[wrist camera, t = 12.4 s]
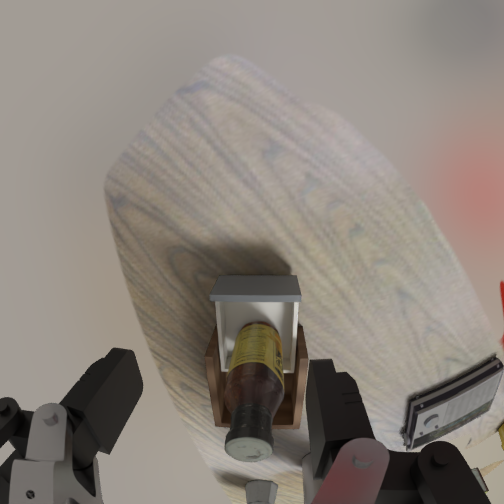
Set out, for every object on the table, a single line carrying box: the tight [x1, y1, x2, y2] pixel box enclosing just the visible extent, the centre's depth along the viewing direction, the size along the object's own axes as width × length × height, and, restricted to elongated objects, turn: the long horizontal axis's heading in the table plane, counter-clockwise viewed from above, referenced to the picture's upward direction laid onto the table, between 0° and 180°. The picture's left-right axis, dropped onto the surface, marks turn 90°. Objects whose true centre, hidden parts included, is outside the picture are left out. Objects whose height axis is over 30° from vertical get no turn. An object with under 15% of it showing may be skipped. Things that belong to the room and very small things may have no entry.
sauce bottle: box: [224, 321, 284, 462], centre depth 28 cm, size 7×6×20 cm
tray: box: [210, 275, 301, 373], centre depth 35 cm, size 13×10×6 cm
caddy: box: [205, 325, 308, 429], centre depth 38 cm, size 14×13×8 cm
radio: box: [404, 357, 504, 452], centre depth 41 cm, size 24×5×20 cm
